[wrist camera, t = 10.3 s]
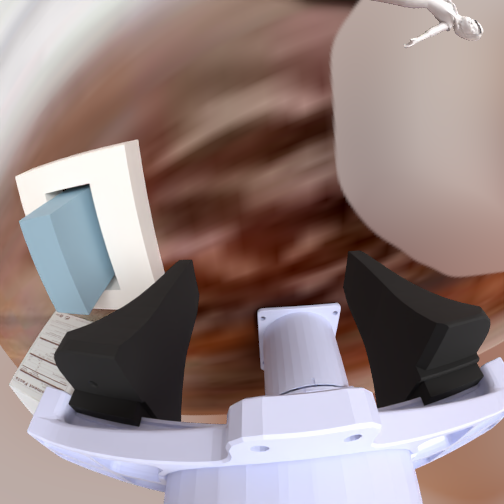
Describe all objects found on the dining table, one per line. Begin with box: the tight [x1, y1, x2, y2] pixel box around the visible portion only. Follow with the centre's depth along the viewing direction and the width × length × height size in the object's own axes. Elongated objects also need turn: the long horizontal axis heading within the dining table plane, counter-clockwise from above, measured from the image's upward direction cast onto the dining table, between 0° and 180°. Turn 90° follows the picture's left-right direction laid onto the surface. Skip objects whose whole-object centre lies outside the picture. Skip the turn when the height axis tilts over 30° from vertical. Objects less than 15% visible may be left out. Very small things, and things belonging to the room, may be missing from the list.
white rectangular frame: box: [16, 140, 165, 310], centre depth 21 cm, size 14×12×2 cm
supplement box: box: [9, 310, 93, 415], centre depth 23 cm, size 7×7×13 cm
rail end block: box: [19, 184, 115, 315], centre depth 19 cm, size 8×4×7 cm, turn 3°
